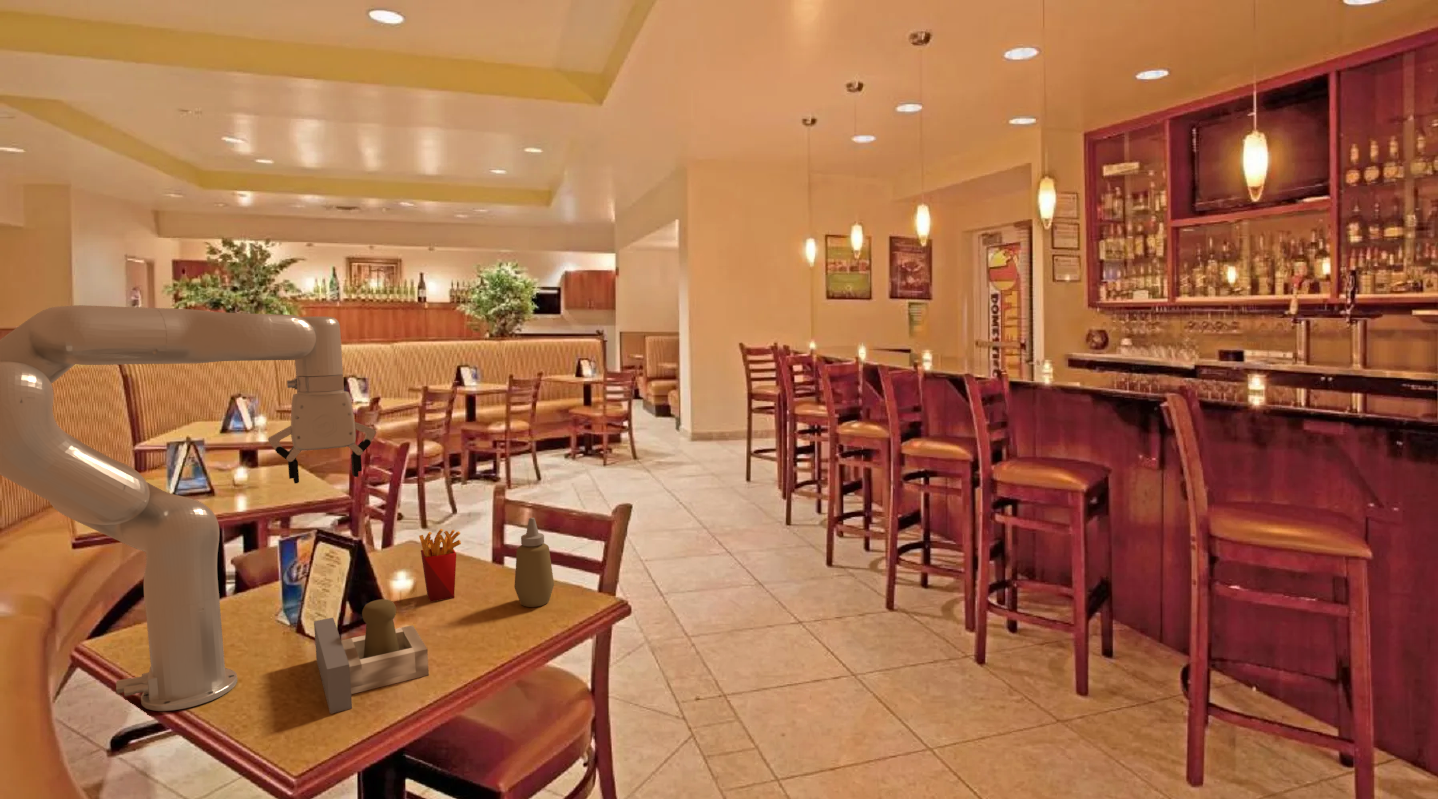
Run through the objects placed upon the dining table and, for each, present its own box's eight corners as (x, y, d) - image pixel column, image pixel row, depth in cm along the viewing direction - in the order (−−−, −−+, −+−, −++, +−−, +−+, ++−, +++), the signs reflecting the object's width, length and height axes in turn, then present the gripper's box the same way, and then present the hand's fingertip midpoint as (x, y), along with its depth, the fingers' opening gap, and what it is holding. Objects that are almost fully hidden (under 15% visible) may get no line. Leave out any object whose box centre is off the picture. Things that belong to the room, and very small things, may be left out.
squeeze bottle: (537, 592, 164) (534, 511, 162) (562, 600, 160) (560, 517, 158) (506, 604, 158) (503, 519, 156) (532, 613, 153) (529, 525, 151)
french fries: (421, 594, 164) (418, 526, 163) (461, 587, 168) (458, 521, 167) (427, 607, 157) (423, 536, 155) (468, 600, 160) (465, 530, 159)
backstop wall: (330, 713, 114) (327, 669, 113) (316, 659, 133) (313, 621, 132) (352, 708, 116) (349, 664, 115) (335, 655, 134) (333, 617, 133)
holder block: (349, 694, 120) (347, 667, 120) (340, 666, 130) (338, 640, 130) (428, 675, 126) (427, 649, 126) (414, 649, 136) (412, 625, 136)
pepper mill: (386, 674, 124) (382, 609, 123) (354, 671, 126) (350, 607, 125) (409, 658, 130) (405, 596, 129) (378, 655, 132) (374, 594, 131)
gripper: (265, 389, 129) (272, 488, 130) (375, 384, 138) (381, 476, 140) (263, 386, 135) (270, 481, 137) (369, 381, 144) (374, 470, 146)
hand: (326, 478), depth 138 cm, fingers open, 9 cm apart
